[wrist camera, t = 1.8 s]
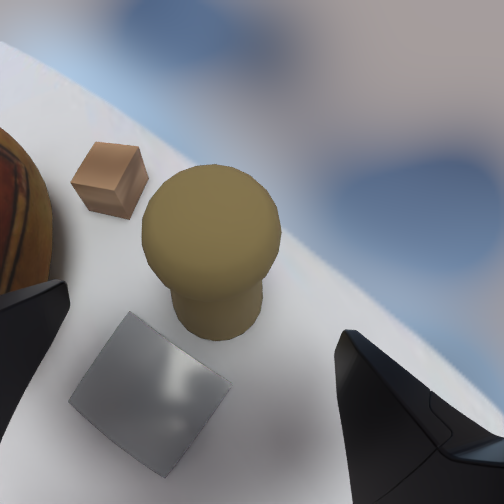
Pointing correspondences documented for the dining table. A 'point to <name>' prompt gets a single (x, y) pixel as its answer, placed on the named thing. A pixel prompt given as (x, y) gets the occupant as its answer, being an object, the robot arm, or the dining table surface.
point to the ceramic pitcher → (22, 219)
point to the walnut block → (111, 179)
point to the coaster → (148, 395)
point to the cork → (212, 247)
